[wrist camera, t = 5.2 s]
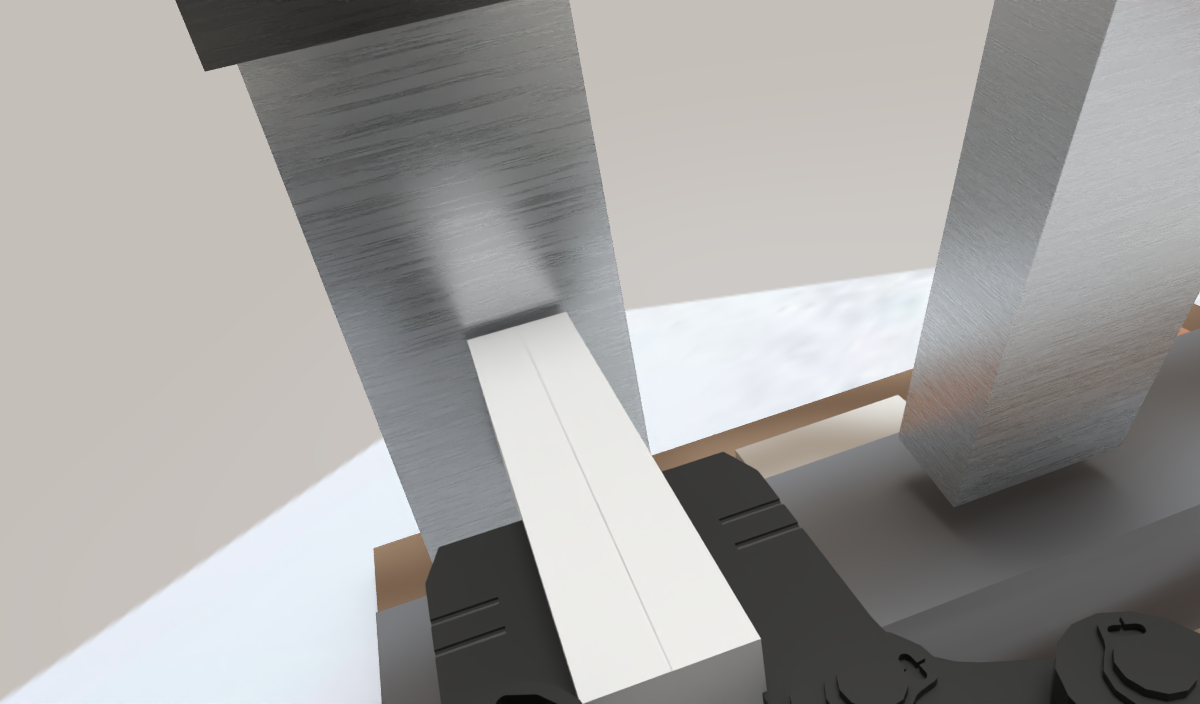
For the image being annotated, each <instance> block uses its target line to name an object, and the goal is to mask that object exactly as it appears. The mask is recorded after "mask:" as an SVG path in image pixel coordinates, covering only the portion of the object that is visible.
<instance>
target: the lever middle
mask: <svg viewBox="0 0 1200 704" xmlns="http://www.w3.org/2000/svg"><path fill="white" fill-rule="evenodd" d="M1199 292H1200V0H995V1H994V6H993V11H992V15H991V19H990V24H989V29H988V33H987V38H986V42H985V47H984V51H983V56H982V60H981V65H980V69H979V74H978V79H977V83H976V88H975V92H974V97H973V101H972V106H971V110H970V115H969V119H968V124H967V128H966V133H965V137H964V142H963V147H962V151H961V156H960V160H959V164H958V169H957V174H956V179H955V183H954V187H953V192H952V196H951V201H950V205H949V210H948V215H947V219H946V224H945V228H944V233H943V237H942V242H941V246H940V251H939V255H938V260H937V264H936V269H935V273H934V278H933V282H932V287H931V291H930V296H929V300H928V305H927V310H926V314H925V319H924V323H923V328H922V332H921V337H920V341H919V346H918V350H917V355H916V359H915V364H914V368H913V373H912V377H911V382H910V387H909V391H908V396H907V400H906V405H905V409H904V414H903V418H902V423H901V427H900V432H899V436H898V438H899V440H900V441H901V442H902V443H903V445H904V446H905V447H906V448H907V450H908V451H909V452H910V453H911V455H912V456H913V457H914V458H915V460H916V461H917V462H918V463H919V465H920V466H921V467H922V468H923V470H924V471H925V472H926V473H927V474H928V476H929V477H930V478H931V479H932V481H933V482H934V483H935V484H936V486H937V487H938V488H939V489H940V491H941V492H942V493H943V494H944V496H945V497H946V498H947V499H948V501H949V502H950V503H951V504H952V506H953V507H957V506H960V505H962V504H965V503H968V502H971V501H973V500H976V499H979V498H982V497H984V496H987V495H990V494H992V493H995V492H998V491H1001V490H1003V489H1006V488H1009V487H1012V486H1014V485H1017V484H1020V483H1022V482H1025V481H1028V480H1031V479H1033V478H1036V477H1039V476H1042V475H1044V474H1047V473H1050V472H1053V471H1055V470H1058V469H1061V468H1063V467H1066V466H1069V465H1072V464H1074V463H1077V462H1080V461H1083V460H1085V459H1088V458H1091V457H1093V456H1096V455H1099V454H1102V453H1104V452H1107V451H1110V450H1113V449H1115V448H1118V447H1120V446H1121V444H1122V442H1123V440H1124V439H1125V437H1126V435H1127V433H1128V431H1129V429H1130V427H1131V425H1132V423H1133V421H1134V419H1135V417H1136V415H1137V413H1138V411H1139V409H1140V407H1141V405H1142V403H1143V401H1144V399H1145V397H1146V396H1147V394H1148V392H1149V390H1150V388H1151V386H1152V384H1153V382H1154V380H1155V378H1156V376H1157V374H1158V372H1159V370H1160V368H1161V366H1162V364H1163V362H1164V360H1165V358H1166V356H1167V355H1168V353H1169V351H1170V349H1171V347H1172V345H1173V343H1174V341H1175V339H1176V337H1177V335H1178V333H1179V331H1180V329H1181V327H1182V325H1183V323H1184V321H1185V319H1186V317H1187V315H1188V313H1189V312H1190V310H1191V308H1192V306H1193V304H1194V302H1195V300H1196V298H1197V296H1198V294H1199Z"/></svg>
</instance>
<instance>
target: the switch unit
mask: <svg viewBox="0 0 1200 704" xmlns="http://www.w3.org/2000/svg"><path fill="white" fill-rule="evenodd" d="M912 373H913V369H911V370H908V371H905V372H902V373H899V374H896V375H893V376H890V377H887V378H884V379H881V380H878V381H875V382H872V383H869V384H866V385H863V386H860V387H857V388H854V389H851V390H848V391H845V392H842V393H839V394H836V395H833V396H830V397H827V398H824V399H821V400H818V401H815V402H812V403H809V404H806V405H803V406H800V407H797V408H794V409H791V410H788V411H785V412H782V413H779V414H776V415H773V416H770V417H767V418H764V419H761V420H758V421H755V422H752V423H749V424H746V425H743V426H740V427H737V428H734V429H731V430H728V431H725V432H722V433H719V434H716V435H713V436H710V437H707V438H704V439H701V440H698V441H695V442H692V443H689V444H686V445H683V446H680V447H677V448H674V449H671V450H668V451H665V452H662V453H659V454H656V455H653V456H652V457H653V459H654V460H655V462H656V464H657V465H658V467H659V469H660V470H661V472H662V471H665V470H668V469H671V468H674V467H677V466H680V465H683V464H687V463H690V462H693V461H696V460H699V459H702V458H705V457H708V456H711V455H714V454H717V453H720V452H725V453H727V454H729V455H731V456H733V457H734V458H736V459H738V460H740V461H742V462H744V463H745V464H747V465H749V466H751V467H753V468H755V469H756V470H758V471H759V472H760V474H761V475H762V476H763V478H764V479H765V480H766V481H767V483H768V484H769V485H770V487H771V488H772V489H773V491H774V492H775V493H776V494H777V496H778V497H779V498H780V502H781V504H784V505H785V506H786V507H787V509H788V510H789V511H790V512H791V514H792V515H793V516H794V518H795V519H796V520H797V521H798V525H799V527H800V528H803V529H804V531H805V532H806V533H807V534H808V536H809V537H810V538H811V540H812V541H813V542H814V543H815V545H816V546H817V547H818V549H819V550H820V551H821V552H822V554H823V555H824V556H825V558H826V559H827V560H828V561H829V563H830V564H831V565H832V567H833V568H834V569H835V571H836V572H837V573H838V574H839V576H840V577H841V578H842V580H843V581H844V582H845V583H846V585H847V586H848V587H849V589H850V590H851V591H852V592H853V594H854V595H855V596H856V598H857V599H858V600H859V601H860V603H861V604H862V605H863V607H864V608H865V609H866V611H867V612H868V613H869V614H870V616H871V617H872V618H873V619H874V620H875V621H876V622H877V623H878V624H879V625H880V626H881V627H882V628H883V629H884V630H885V631H886V632H891V633H894V634H896V635H898V636H901V637H903V638H905V639H907V640H910V641H912V642H914V643H917V644H919V645H921V646H922V647H923V648H924V649H926V650H927V651H928V652H929V653H930V654H931V655H932V656H934V657H938V658H942V659H947V660H952V661H957V662H997V661H1015V660H1032V659H1049V658H1055V652H1056V645H1057V642H1058V641H1059V640H1060V638H1061V637H1062V636H1063V634H1064V633H1065V632H1066V631H1067V629H1068V628H1069V627H1070V625H1071V624H1073V623H1075V622H1078V621H1080V620H1082V619H1085V618H1087V617H1089V616H1091V615H1094V614H1096V613H1109V612H1125V611H1131V612H1136V613H1141V614H1146V615H1151V616H1156V617H1161V618H1166V619H1169V620H1171V621H1173V622H1175V623H1178V624H1180V625H1182V626H1184V627H1186V628H1189V629H1191V630H1193V631H1195V632H1198V633H1200V306H1198V305H1196V304H1193V306H1192V308H1191V310H1190V312H1189V313H1188V315H1187V317H1186V319H1185V321H1184V323H1183V325H1182V327H1181V329H1180V331H1179V333H1178V335H1177V337H1176V339H1175V341H1174V343H1173V345H1172V347H1171V349H1170V351H1169V353H1168V355H1167V356H1166V358H1165V360H1164V362H1163V364H1162V366H1161V368H1160V370H1159V372H1158V374H1157V376H1156V378H1155V380H1154V382H1153V384H1152V386H1151V388H1150V390H1149V392H1148V394H1147V396H1146V397H1145V399H1144V401H1143V403H1142V405H1141V407H1140V409H1139V411H1138V413H1137V415H1136V417H1135V419H1134V421H1133V423H1132V425H1131V427H1130V429H1129V431H1128V433H1127V435H1126V437H1125V439H1124V440H1123V442H1122V444H1121V446H1120V447H1118V448H1115V449H1113V450H1110V451H1107V452H1104V453H1102V454H1099V455H1096V456H1093V457H1091V458H1088V459H1085V460H1083V461H1080V462H1077V463H1074V464H1072V465H1069V466H1066V467H1063V468H1061V469H1058V470H1055V471H1053V472H1050V473H1047V474H1044V475H1042V476H1039V477H1036V478H1033V479H1031V480H1028V481H1025V482H1022V483H1020V484H1017V485H1014V486H1012V487H1009V488H1006V489H1003V490H1001V491H998V492H995V493H992V494H990V495H987V496H984V497H982V498H979V499H976V500H973V501H971V502H968V503H965V504H962V505H960V506H957V507H953V506H952V504H951V503H950V502H949V501H948V499H947V498H946V497H945V496H944V494H943V493H942V492H941V491H940V489H939V488H938V487H937V486H936V484H935V483H934V482H933V481H932V479H931V478H930V477H929V476H928V474H927V473H926V472H925V471H924V470H923V468H922V467H921V466H920V465H919V463H918V462H917V461H916V460H915V458H914V457H913V456H912V455H911V453H910V452H909V451H908V450H907V448H906V447H905V446H904V445H903V443H902V442H901V441H900V440H899V438H898V436H899V432H900V427H901V423H902V418H903V414H904V409H905V405H906V400H907V396H908V391H909V387H910V382H911V377H912ZM374 563H375V577H376V592H377V606H378V613H376V621H377V636H378V651H379V666H380V681H381V697H382V704H441V699H440V692H439V684H438V677H437V669H436V662H435V658H436V656H435V652H434V647H433V639H432V632H431V627H432V626H431V622H430V617H429V609H428V602H427V594H426V587H425V583H426V580H427V577H428V575H429V572H430V569H431V567H432V561H431V558H430V556H429V553H428V551H427V548H426V546H425V543H424V541H423V538H422V535H421V533H418V534H415V535H412V536H409V537H406V538H403V539H400V540H397V541H394V542H391V543H388V544H385V545H382V546H379V547H376V548H374Z"/></svg>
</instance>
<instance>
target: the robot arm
mask: <svg viewBox="0 0 1200 704" xmlns="http://www.w3.org/2000/svg"><path fill="white" fill-rule="evenodd" d="M467 342H468V346H469V349H470V352H471V356H472V359H473V362H474V366H475V369H476V373H477V376H478V379H479V383H480V386H481V390H482V393H483V396H484V400H485V403H486V407H487V410H488V413H489V417H490V420H491V424H492V427H493V430H494V434H495V437H496V441H497V444H498V447H499V451H500V454H501V458H502V461H503V464H504V468H505V471H506V475H507V478H508V481H509V485H510V488H511V491H512V495H513V498H514V501H515V504H516V508H517V511H518V514H519V517H520V521H517V522H514V523H511V524H508V525H505V526H502V527H499V528H496V529H493V530H490V531H487V532H484V533H481V534H477V535H474V536H471V537H468V538H465V539H462V540H459V541H456V542H453V543H450V544H447V545H444V546H441V547H439V548H438V550H437V553H436V556H435V558H434V561H433V564H432V567H431V569H430V572H429V575H428V577H427V580H426V583H425V587H426V594H427V602H428V609H429V617H430V622H431V626H432V627H431V632H432V639H433V647H434V652H435V656H436V658H435V662H436V669H437V677H438V684H439V692H440V699H441V704H1200V633H1198V632H1195V631H1193V630H1191V629H1189V628H1186V627H1184V626H1182V625H1180V624H1178V623H1175V622H1173V621H1171V620H1169V619H1166V618H1161V617H1156V616H1151V615H1146V614H1141V613H1136V612H1131V611H1125V612H1109V613H1096V614H1094V615H1091V616H1089V617H1087V618H1085V619H1082V620H1080V621H1078V622H1075V623H1073V624H1071V625H1070V627H1069V628H1068V629H1067V631H1066V632H1065V633H1064V634H1063V636H1062V637H1061V638H1060V640H1059V641H1058V642H1057V645H1056V652H1055V658H1049V659H1032V660H1015V661H997V662H957V661H952V660H947V659H942V658H938V657H934V656H932V655H931V654H930V653H929V652H928V651H927V650H926V649H924V648H923V647H922V646H921V645H919V644H917V643H914V642H912V641H910V640H907V639H905V638H903V637H901V636H898V635H896V634H894V633H891V632H886V631H885V630H884V629H883V628H882V627H881V626H880V625H879V624H878V623H877V622H876V621H875V620H874V619H873V618H872V617H871V616H870V614H869V613H868V612H867V611H866V609H865V608H864V607H863V605H862V604H861V603H860V601H859V600H858V599H857V598H856V596H855V595H854V594H853V592H852V591H851V590H850V589H849V587H848V586H847V585H846V583H845V582H844V581H843V580H842V578H841V577H840V576H839V574H838V573H837V572H836V571H835V569H834V568H833V567H832V565H831V564H830V563H829V561H828V560H827V559H826V558H825V556H824V555H823V554H822V552H821V551H820V550H819V549H818V547H817V546H816V545H815V543H814V542H813V541H812V540H811V538H810V537H809V536H808V534H807V533H806V532H805V531H804V529H803V528H800V527H799V525H798V521H797V520H796V519H795V518H794V516H793V515H792V514H791V512H790V511H789V510H788V509H787V507H786V506H785V505H784V504H781V502H780V498H779V497H778V496H777V494H776V493H775V492H774V491H773V489H772V488H771V487H770V485H769V484H768V483H767V481H766V480H765V479H764V478H763V476H762V475H761V474H760V472H759V471H758V470H756V469H755V468H753V467H751V466H749V465H747V464H745V463H744V462H742V461H740V460H738V459H736V458H734V457H733V456H731V455H729V454H727V453H725V452H720V453H717V454H714V455H711V456H708V457H705V458H702V459H699V460H696V461H693V462H690V463H687V464H683V465H680V466H677V467H674V468H671V469H668V470H665V471H662V472H661V470H660V469H659V467H658V465H657V464H656V462H655V460H654V459H653V457H652V455H651V454H650V452H649V450H648V448H647V447H646V445H645V443H644V442H643V440H642V438H641V437H640V435H639V433H638V432H637V430H636V428H635V427H634V425H633V423H632V422H631V420H630V418H629V417H628V415H627V413H626V412H625V410H624V408H623V407H622V405H621V403H620V401H619V400H618V398H617V396H616V395H615V393H614V391H613V390H612V388H611V386H610V385H609V383H608V381H607V380H606V378H605V376H604V375H603V373H602V371H601V370H600V368H599V366H598V365H597V363H596V361H595V360H594V358H593V356H592V355H591V353H590V351H589V349H588V348H587V346H586V344H585V343H584V341H583V339H582V338H581V336H580V334H579V333H578V331H577V329H576V328H575V326H574V324H573V323H572V321H571V319H570V318H569V316H568V314H567V313H566V312H564V313H560V314H557V315H553V316H550V317H546V318H543V319H539V320H536V321H532V322H529V323H525V324H522V325H519V326H515V327H511V328H508V329H505V330H501V331H498V332H494V333H491V334H487V335H484V336H480V337H477V338H473V339H470V340H467Z"/></svg>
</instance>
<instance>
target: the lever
mask: <svg viewBox="0 0 1200 704" xmlns="http://www.w3.org/2000/svg"><path fill="white" fill-rule="evenodd" d="M176 3H177V5H178V8H179V10H180V12H181V15H182V17H183V20H184V22H185V24H186V27H187V29H188V32H189V34H190V36H191V39H192V42H193V44H194V46H195V49H196V51H197V54H198V56H199V59H200V61H201V63H202V66H203V68H204V71H209V70H213V69H218V68H222V67H226V66H230V65H235V64H237V65H238V67H239V70H240V72H241V75H242V77H243V79H244V82H245V85H246V87H247V90H248V92H249V95H250V98H251V100H252V103H253V105H254V108H255V110H256V113H257V116H258V118H259V121H260V123H261V126H262V128H263V131H264V134H265V136H266V139H267V141H268V144H269V146H270V149H271V151H272V154H273V157H274V159H275V162H276V164H277V167H278V169H279V172H280V175H281V177H282V180H283V182H284V185H285V187H286V190H287V192H288V195H289V197H290V200H291V203H292V205H293V208H294V210H295V213H296V216H297V218H298V220H299V223H300V226H301V228H302V231H303V233H304V236H305V238H306V241H307V244H308V246H309V249H310V251H311V254H312V256H313V259H314V262H315V264H316V266H317V269H318V272H319V274H320V277H321V279H322V282H323V285H324V287H325V290H326V292H327V295H328V297H329V299H330V302H331V305H332V307H333V310H334V313H335V315H336V318H337V320H338V323H339V325H340V328H341V331H342V333H343V336H344V338H345V341H346V343H347V346H348V349H349V351H350V353H351V356H352V358H353V361H354V364H355V367H356V369H357V372H358V374H359V377H360V379H361V382H362V384H363V387H364V390H365V392H366V395H367V397H368V400H369V402H370V405H371V407H372V409H373V412H374V415H375V418H376V420H377V423H378V425H379V428H380V430H381V433H382V436H383V438H384V441H385V443H386V446H387V448H388V451H389V454H390V456H391V459H392V461H393V464H394V466H395V469H396V471H397V474H398V477H399V479H400V482H401V484H402V487H403V489H404V492H405V494H406V497H407V500H408V502H409V505H410V507H411V510H412V512H413V515H414V518H415V520H416V523H417V525H418V528H419V530H420V533H421V535H422V538H423V541H424V543H425V546H426V548H427V551H428V553H429V556H430V558H431V561H432V564H433V561H434V558H435V556H436V553H437V550H438V548H439V547H441V546H444V545H447V544H450V543H453V542H456V541H459V540H462V539H465V538H468V537H471V536H474V535H477V534H481V533H484V532H487V531H490V530H493V529H496V528H499V527H502V526H505V525H508V524H511V523H514V522H517V521H520V517H519V514H518V511H517V508H516V504H515V501H514V498H513V495H512V491H511V488H510V485H509V481H508V478H507V475H506V471H505V468H504V464H503V461H502V458H501V454H500V451H499V447H498V444H497V441H496V437H495V434H494V430H493V427H492V424H491V420H490V417H489V413H488V410H487V407H486V403H485V400H484V396H483V393H482V390H481V386H480V383H479V379H478V376H477V373H476V369H475V366H474V362H473V359H472V356H471V352H470V349H469V346H468V342H467V340H470V339H473V338H477V337H480V336H484V335H487V334H491V333H494V332H498V331H501V330H505V329H508V328H511V327H515V326H519V325H522V324H525V323H529V322H532V321H536V320H539V319H543V318H546V317H550V316H553V315H557V314H560V313H564V312H566V313H567V314H568V316H569V318H570V319H571V321H572V323H573V324H574V326H575V328H576V329H577V331H578V333H579V334H580V336H581V338H582V339H583V341H584V343H585V344H586V346H587V348H588V349H589V351H590V353H591V355H592V356H593V358H594V360H595V361H596V363H597V365H598V366H599V368H600V370H601V371H602V373H603V375H604V376H605V378H606V380H607V381H608V383H609V385H610V386H611V388H612V390H613V391H614V393H615V395H616V396H617V398H618V400H619V401H620V403H621V405H622V407H623V408H624V410H625V412H626V413H627V415H628V417H629V418H630V420H631V422H632V423H633V425H634V427H635V428H636V430H637V432H638V433H639V435H640V437H641V438H642V440H643V442H644V443H645V445H646V447H647V448H648V450H649V452H650V448H649V442H648V437H647V431H646V426H645V420H644V414H643V409H642V403H641V398H640V392H639V387H638V381H637V375H636V370H635V364H634V359H633V353H632V348H631V342H630V337H629V331H628V325H627V320H626V314H625V309H624V303H623V298H622V292H621V286H620V281H619V275H618V270H617V264H616V259H615V253H614V248H613V242H612V236H611V231H610V226H609V220H608V214H607V209H606V203H605V197H604V192H603V186H602V181H601V175H600V170H599V165H598V158H597V153H596V147H595V142H594V136H593V131H592V126H591V120H590V114H589V109H588V103H587V97H586V92H585V86H584V81H583V75H582V70H581V64H580V58H579V53H578V48H577V42H576V36H575V31H574V26H573V20H572V14H571V9H570V3H569V0H176ZM650 454H651V453H650Z"/></svg>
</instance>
